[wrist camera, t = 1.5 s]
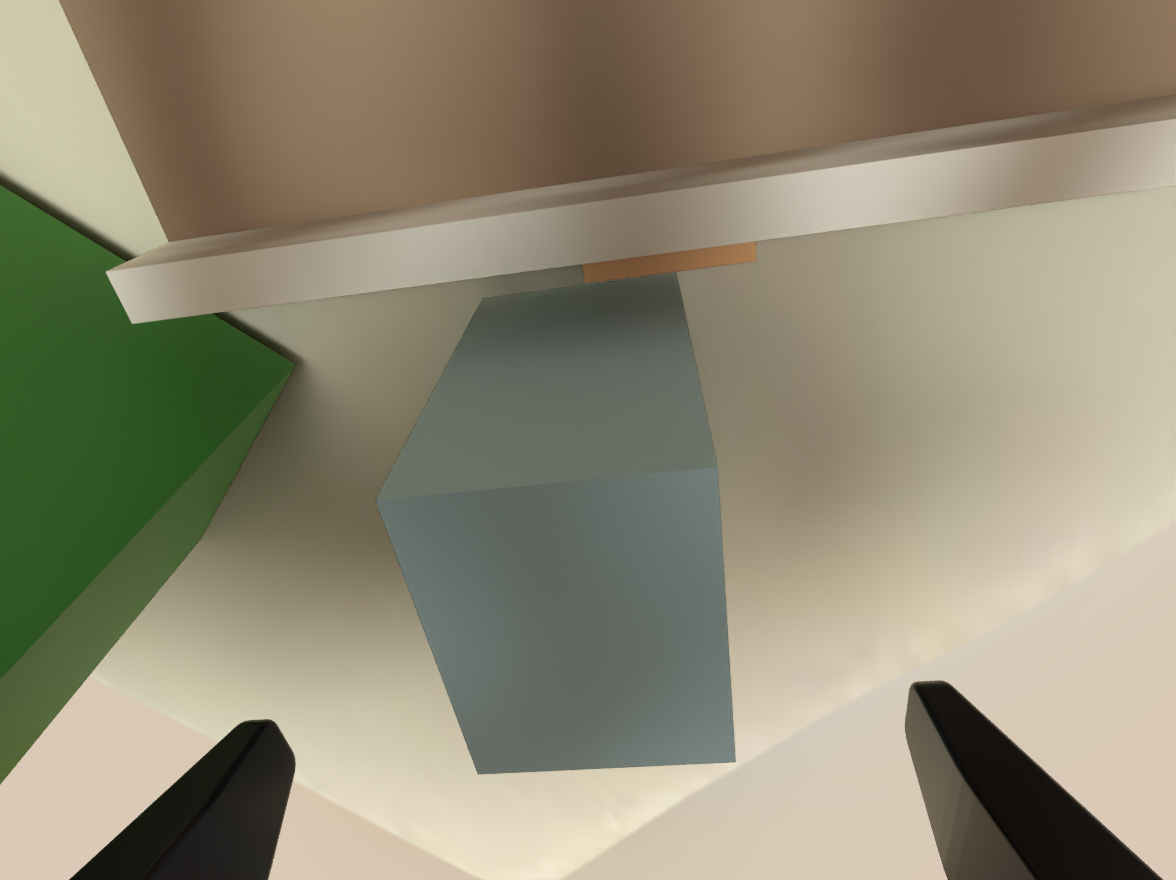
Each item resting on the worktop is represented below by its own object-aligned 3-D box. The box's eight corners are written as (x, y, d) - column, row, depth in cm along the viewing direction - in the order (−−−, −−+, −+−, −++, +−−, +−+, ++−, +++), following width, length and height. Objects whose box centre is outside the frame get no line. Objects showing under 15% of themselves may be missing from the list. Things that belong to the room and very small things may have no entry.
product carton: (676, 272, 15) (717, 467, 9) (694, 490, 18) (735, 762, 12) (478, 298, 16) (368, 500, 9) (527, 505, 19) (472, 774, 12)
